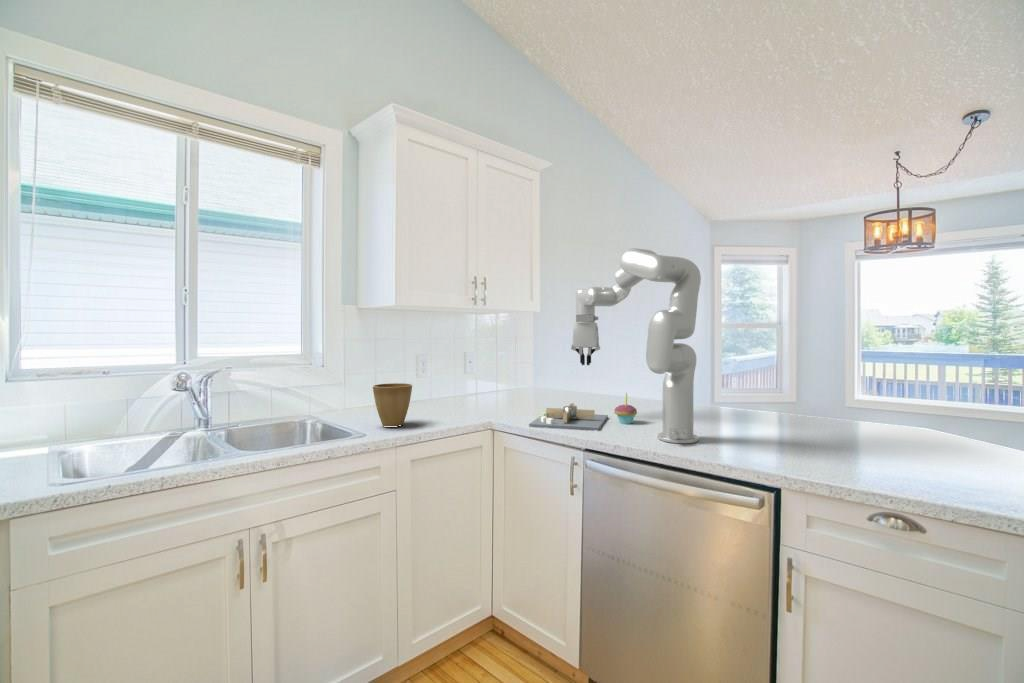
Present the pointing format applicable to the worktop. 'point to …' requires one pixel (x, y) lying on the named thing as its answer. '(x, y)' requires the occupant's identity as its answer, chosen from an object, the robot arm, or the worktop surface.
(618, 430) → the worktop surface
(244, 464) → the worktop surface
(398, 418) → the plant pot
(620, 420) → the cupcake
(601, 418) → the stand
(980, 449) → the worktop surface
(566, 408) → the tan cross shape
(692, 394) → the robot arm
